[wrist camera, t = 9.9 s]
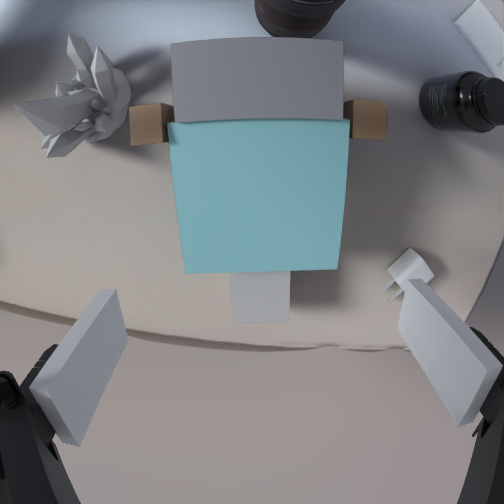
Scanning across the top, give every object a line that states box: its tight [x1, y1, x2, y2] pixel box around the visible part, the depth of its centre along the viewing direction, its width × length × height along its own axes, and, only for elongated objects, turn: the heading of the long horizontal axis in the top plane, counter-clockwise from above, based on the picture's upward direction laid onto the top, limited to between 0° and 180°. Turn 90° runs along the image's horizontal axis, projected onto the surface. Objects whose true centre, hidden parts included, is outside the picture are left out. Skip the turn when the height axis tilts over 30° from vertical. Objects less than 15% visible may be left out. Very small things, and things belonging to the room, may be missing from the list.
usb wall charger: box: [378, 248, 434, 304], centre depth 38 cm, size 4×7×4 cm, turn 135°
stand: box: [129, 99, 387, 151], centre depth 27 cm, size 5×19×13 cm, turn 91°
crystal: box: [15, 34, 132, 158], centre depth 25 cm, size 10×13×15 cm
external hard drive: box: [452, 0, 504, 82], centre depth 28 cm, size 2×8×12 cm
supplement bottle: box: [419, 71, 504, 133], centre depth 26 cm, size 7×7×12 cm
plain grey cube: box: [230, 271, 290, 323], centre depth 36 cm, size 6×6×7 cm
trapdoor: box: [167, 37, 350, 273], centre depth 25 cm, size 19×13×5 cm
